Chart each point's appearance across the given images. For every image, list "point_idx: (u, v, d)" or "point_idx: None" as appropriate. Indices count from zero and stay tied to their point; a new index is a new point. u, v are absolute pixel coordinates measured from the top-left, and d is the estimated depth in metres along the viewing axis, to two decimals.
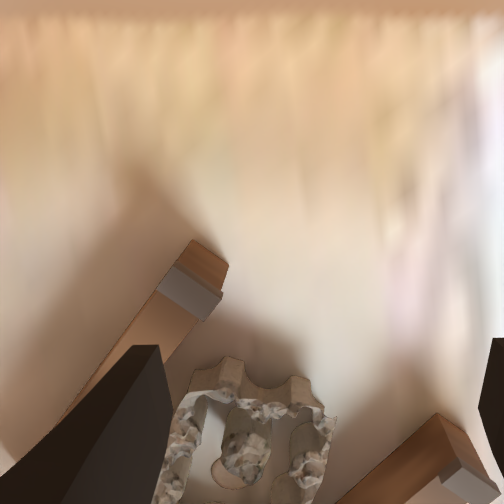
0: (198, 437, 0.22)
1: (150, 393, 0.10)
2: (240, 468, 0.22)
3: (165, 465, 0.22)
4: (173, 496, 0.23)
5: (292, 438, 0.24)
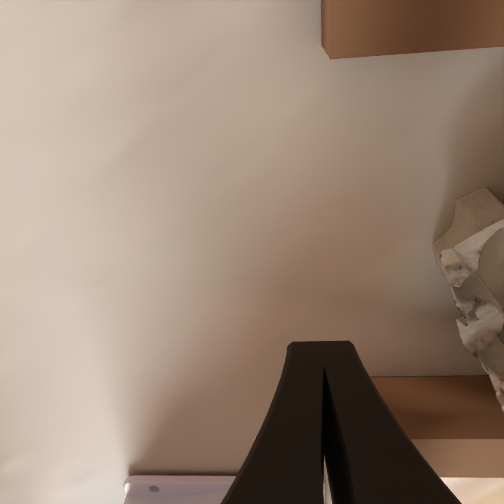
0: None
1: (323, 391, 0.09)
2: None
3: None
4: None
5: None
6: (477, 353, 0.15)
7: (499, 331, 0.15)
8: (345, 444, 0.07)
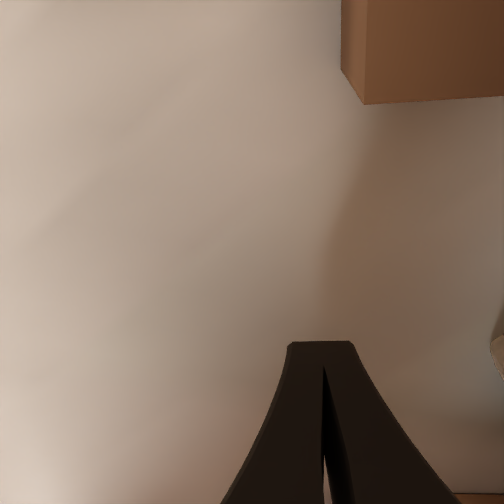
0: None
1: (323, 392, 0.09)
2: None
3: None
4: None
5: None
6: None
7: None
8: (345, 444, 0.07)
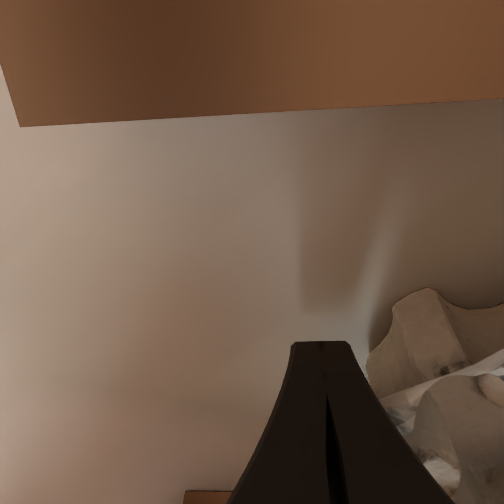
0: None
1: None
2: None
3: None
4: None
5: None
6: None
7: (454, 489, 0.11)
8: (340, 444, 0.07)
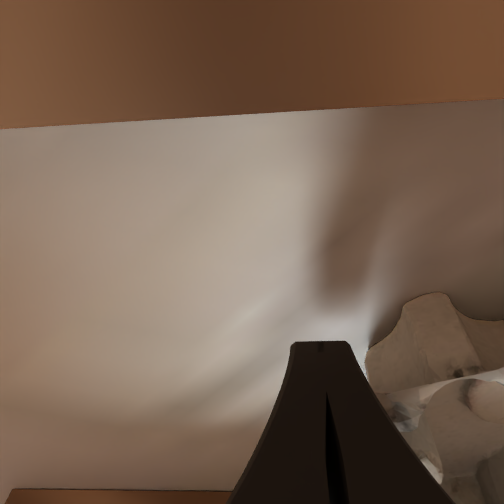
0: None
1: None
2: None
3: None
4: None
5: None
6: None
7: None
8: (340, 444, 0.07)
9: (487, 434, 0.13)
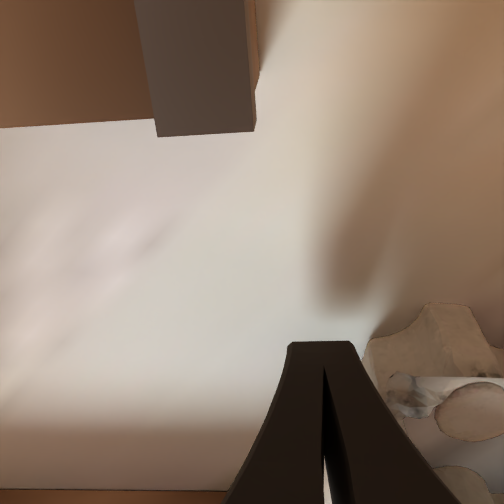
0: None
1: (323, 391, 0.09)
2: None
3: None
4: None
5: None
6: None
7: None
8: (345, 444, 0.07)
9: None
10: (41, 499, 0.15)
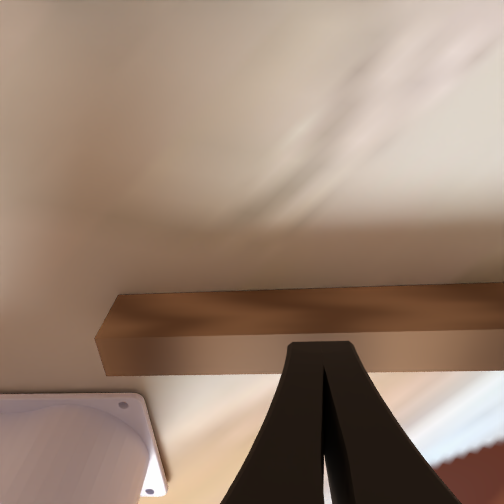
0: None
1: (323, 391, 0.09)
2: None
3: None
4: None
5: None
6: None
7: None
8: (345, 444, 0.07)
9: None
10: (323, 292, 0.20)
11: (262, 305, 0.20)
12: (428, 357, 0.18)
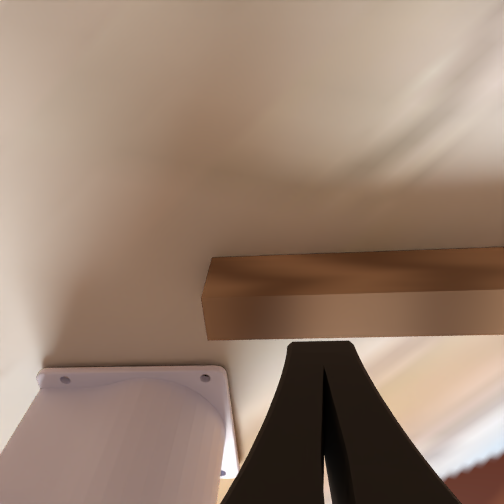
0: None
1: (323, 391, 0.09)
2: None
3: None
4: None
5: None
6: None
7: None
8: (345, 444, 0.07)
9: None
10: (435, 253, 0.19)
11: (373, 265, 0.19)
12: None
